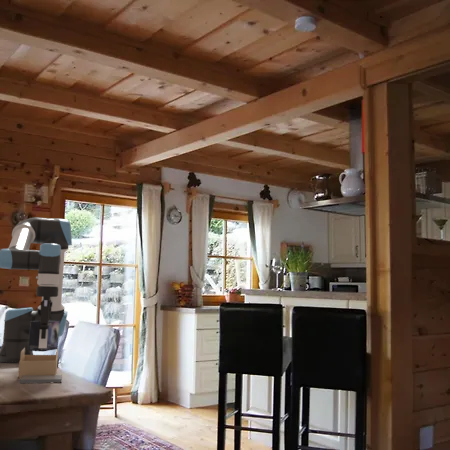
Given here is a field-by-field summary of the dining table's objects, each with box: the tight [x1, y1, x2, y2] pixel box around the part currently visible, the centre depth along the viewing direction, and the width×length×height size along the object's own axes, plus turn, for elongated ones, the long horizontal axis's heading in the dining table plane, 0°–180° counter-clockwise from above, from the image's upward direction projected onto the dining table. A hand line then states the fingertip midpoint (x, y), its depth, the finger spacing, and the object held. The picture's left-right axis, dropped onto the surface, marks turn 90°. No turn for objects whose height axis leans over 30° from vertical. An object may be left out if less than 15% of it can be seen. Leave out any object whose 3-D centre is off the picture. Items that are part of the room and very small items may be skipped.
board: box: [19, 374, 63, 384], centre depth 197 cm, size 10×14×1 cm
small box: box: [28, 320, 60, 352], centre depth 198 cm, size 11×6×10 cm, turn 169°
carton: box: [17, 348, 59, 379], centre depth 212 cm, size 19×13×9 cm
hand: (43, 346), depth 198 cm, fingers closed on small box, 12 cm apart
